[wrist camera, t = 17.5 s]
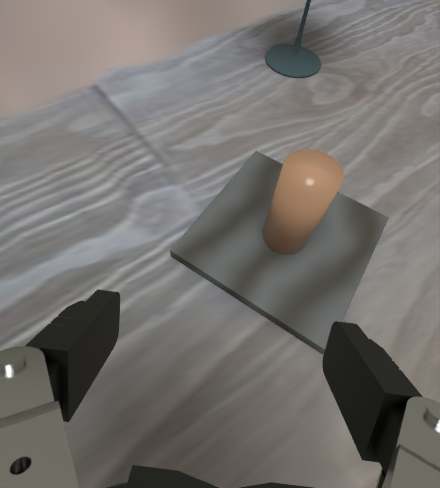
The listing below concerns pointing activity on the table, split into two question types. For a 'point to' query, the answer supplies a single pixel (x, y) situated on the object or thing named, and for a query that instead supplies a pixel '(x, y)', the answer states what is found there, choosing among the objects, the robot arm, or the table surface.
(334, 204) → the charcoal board
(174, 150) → the table surface
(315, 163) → the tan dome-topped cylinder
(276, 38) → the table surface
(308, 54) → the cocktail glass
